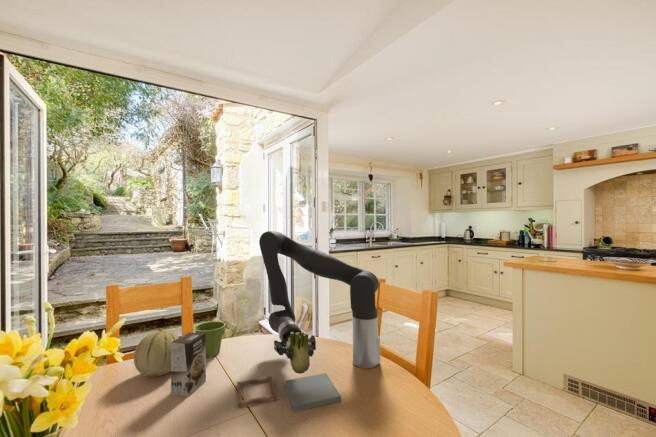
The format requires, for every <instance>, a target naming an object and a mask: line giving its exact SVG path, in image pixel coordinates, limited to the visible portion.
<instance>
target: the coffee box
mask: <svg viewBox="0 0 656 437" xmlns="http://www.w3.org/2000/svg"><path fill="white" fill-rule="evenodd" d="M206 359H207V357H206V333H196V332H187V333H186V334H184V335H182V336H180V337H179V338H178V339H176V340H175V341H173V342H171V371H170V394H171V395H172V396H173V395H175V396H181V397H190V396H191V395H192V394H193V393H194V392H195V391H196V390H197V389H199V388H200V387H201V386H202V385H203V384H204V383H206V382H207V380H206V378H207V377H206V376H207V374H206V372H207V371H206V370H207V369H206V368H207V367H206V366H207V364H206V363H207V361H206Z"/></svg>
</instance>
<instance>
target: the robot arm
mask: <svg viewBox="0 0 656 437" xmlns="http://www.w3.org/2000/svg"><path fill="white" fill-rule="evenodd" d="M258 241H259V250H260V252H261V256H262V259H263V263H264V268H265V270H266V274H267V280H268V286H269V288H268V289H269V295H270V303H271V305H273V306H283V308H284V309H282V310H276V311H273V312H272V313H270V314H269V316H268V325H269V327H270V328H271V330H272V331H274V332H275V333H277V334H278V337H279V338H278V339H279V340H280V341H279V340H274V341H273V349H274V351H275V352H276V353H277V354H278V355H279V356H283V355H285V356H286V358H287V359H289V361H290V360H293V352H292V350H291V348H290V333H291V332H294V337H295V333H297V332H299V333H300V337H301V332H303V331H302V330H301V329H300V327H299V325H298V324H297V322H296V315H295V312H294V311H293V308H292V306H291V303H290V299H289V295H288V294H289V292H288V285H287V281H286V278H285V276H284V272H283V271H282V269H281V266H280V263H279V256H278V255H279V254H280V255H283V256H284V257H288V258H290V259H292V260H293V261H294V262H295V263H297V264H298V265H299V266H300V267H301V268H302V269H304V270H306V271H308V272H310V273H312V274H313V275H316V276H318V277H322V278H325V279H330V280H335V281H339V282H341V283H344V284H346V285H348V286H349V294H350V295H349V296H350V300H349V301H350V309H351V312H352V314H351V315H352V316H351V317H352V363H353V365H354V366H356V367H358V368H361V369H373V368H375V367H377V366H378V365H381V339H380V336H379V334H378V332H379V330H378V321H379V320H378V308H377V307H376V306H377V305H376V292H378V289H379V288H380V282H379V279H378V277H377V276H376V275H375V273H373V272H371V271H369V270H365V269H363V268H359V267H356V266H354V265H351V264H348V263H346V262H344V261H342V260H340V259H338V258H336V257H334V256H332V255H331V254H330V255H329V254H327V253H326V252H323V251H321V250H318V249H316V248H314V247H311V246H309V245H307V244H306V245H305V244H303V243H301V242H298V241H296V240H294V239H293V238H291V237H289V236H287V235H286V234H284V233H282V232H279V231H271V230H269V231H265V232H263V233H262V234H261V235H260V237H259V240H258ZM316 343H317V341H316V338H315V335H314V334H313V335H311V336H310V337H308V351H309V358H311V357H313V355H315V354H314V352H315V351H316V350H317V346H316ZM299 345H300V339H299Z"/></svg>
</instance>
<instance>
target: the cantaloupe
mask: <svg viewBox="0 0 656 437" xmlns="http://www.w3.org/2000/svg"><path fill="white" fill-rule="evenodd" d="M157 330H158V331H155V332H152V333H149V334H148V335H145V337H143V338H142V339H141V340H140V342H139V343H138V344H137V346H136V348H135V350H134V354H133V364H134V367H135V369H136V370H137V372H139V373H140V374H141V375H143V376H145V377H149V378H156V377H160V376H164V375H167V374H168V373H171V342H173V341H175V340H176V339H178V338H180V337H179V336H178V335H177V334H175V333H174V332H171V331H165V330H163V329H162V328H158V329H157Z"/></svg>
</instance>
